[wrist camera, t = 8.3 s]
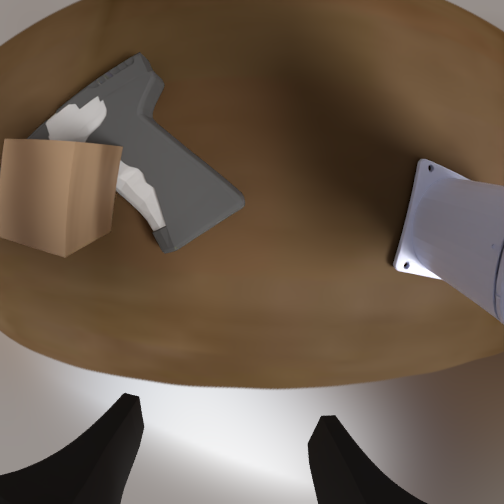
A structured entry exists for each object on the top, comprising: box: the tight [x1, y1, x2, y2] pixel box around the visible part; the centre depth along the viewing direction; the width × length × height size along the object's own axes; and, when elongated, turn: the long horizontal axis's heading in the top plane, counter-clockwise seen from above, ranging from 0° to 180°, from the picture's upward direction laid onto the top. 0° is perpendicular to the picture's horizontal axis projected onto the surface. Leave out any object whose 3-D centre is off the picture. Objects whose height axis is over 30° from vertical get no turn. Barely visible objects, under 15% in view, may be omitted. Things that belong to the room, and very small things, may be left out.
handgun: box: [0, 52, 245, 253], centre depth 16 cm, size 2×18×12 cm
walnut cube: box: [0, 139, 123, 257], centre depth 12 cm, size 5×5×5 cm
